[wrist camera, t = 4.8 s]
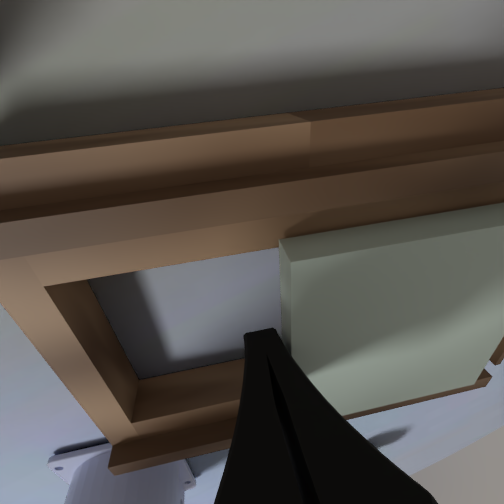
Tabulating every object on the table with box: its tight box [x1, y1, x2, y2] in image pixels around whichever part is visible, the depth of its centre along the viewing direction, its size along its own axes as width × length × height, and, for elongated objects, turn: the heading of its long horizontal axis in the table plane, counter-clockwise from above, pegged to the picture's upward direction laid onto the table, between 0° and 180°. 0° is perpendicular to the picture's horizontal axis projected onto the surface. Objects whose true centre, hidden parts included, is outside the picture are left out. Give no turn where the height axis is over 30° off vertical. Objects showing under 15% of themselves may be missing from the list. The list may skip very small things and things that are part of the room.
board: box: [0, 88, 504, 476], centre depth 13 cm, size 17×22×3 cm
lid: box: [279, 203, 504, 416], centre depth 12 cm, size 10×10×1 cm
